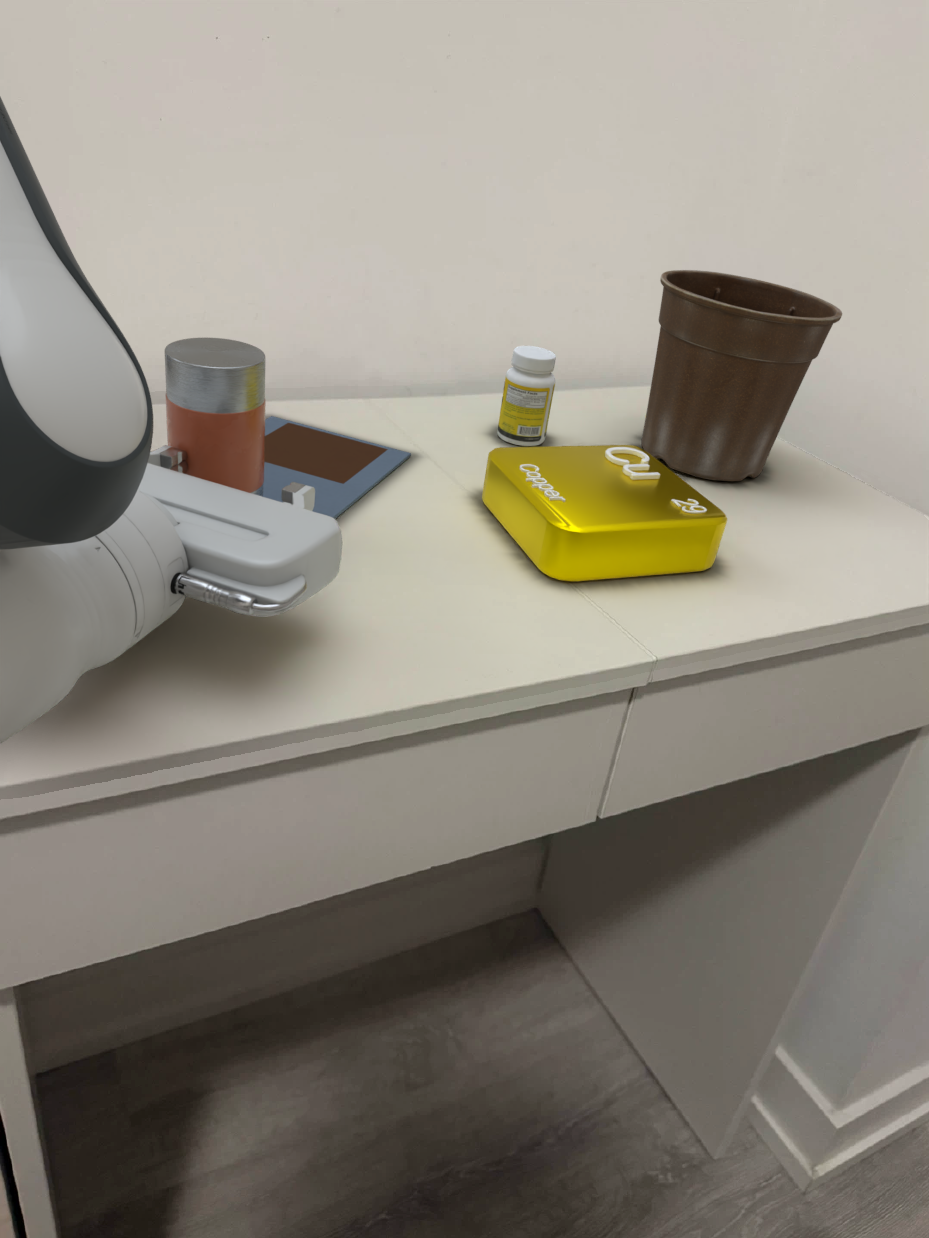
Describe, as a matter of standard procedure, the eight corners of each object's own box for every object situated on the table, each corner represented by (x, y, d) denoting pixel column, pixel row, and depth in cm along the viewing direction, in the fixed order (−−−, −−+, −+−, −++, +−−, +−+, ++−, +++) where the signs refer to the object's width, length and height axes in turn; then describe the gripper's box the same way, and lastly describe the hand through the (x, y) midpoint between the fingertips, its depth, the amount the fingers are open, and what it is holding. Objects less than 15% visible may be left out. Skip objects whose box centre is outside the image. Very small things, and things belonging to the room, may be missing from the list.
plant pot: (756, 437, 98) (806, 283, 90) (808, 501, 84) (872, 327, 76) (609, 419, 97) (645, 260, 88) (637, 482, 83) (684, 301, 74)
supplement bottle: (513, 425, 91) (527, 341, 87) (553, 440, 89) (570, 355, 85) (486, 435, 88) (500, 349, 83) (527, 451, 86) (543, 363, 81)
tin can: (151, 521, 64) (142, 352, 58) (204, 489, 69) (201, 331, 63) (232, 545, 63) (232, 375, 56) (279, 511, 68) (284, 352, 62)
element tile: (473, 494, 76) (481, 440, 73) (627, 488, 81) (640, 437, 79) (549, 585, 64) (562, 525, 62) (723, 571, 70) (741, 515, 67)
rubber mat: (80, 526, 63) (79, 522, 63) (271, 418, 84) (271, 415, 84) (259, 582, 60) (259, 578, 60) (410, 456, 81) (411, 453, 81)
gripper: (275, 566, 44) (389, 472, 56) (-63, 461, 49) (107, 393, 60) (272, 670, 48) (381, 561, 59) (-44, 563, 52) (113, 481, 64)
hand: (240, 476), depth 60 cm, fingers open, 8 cm apart
